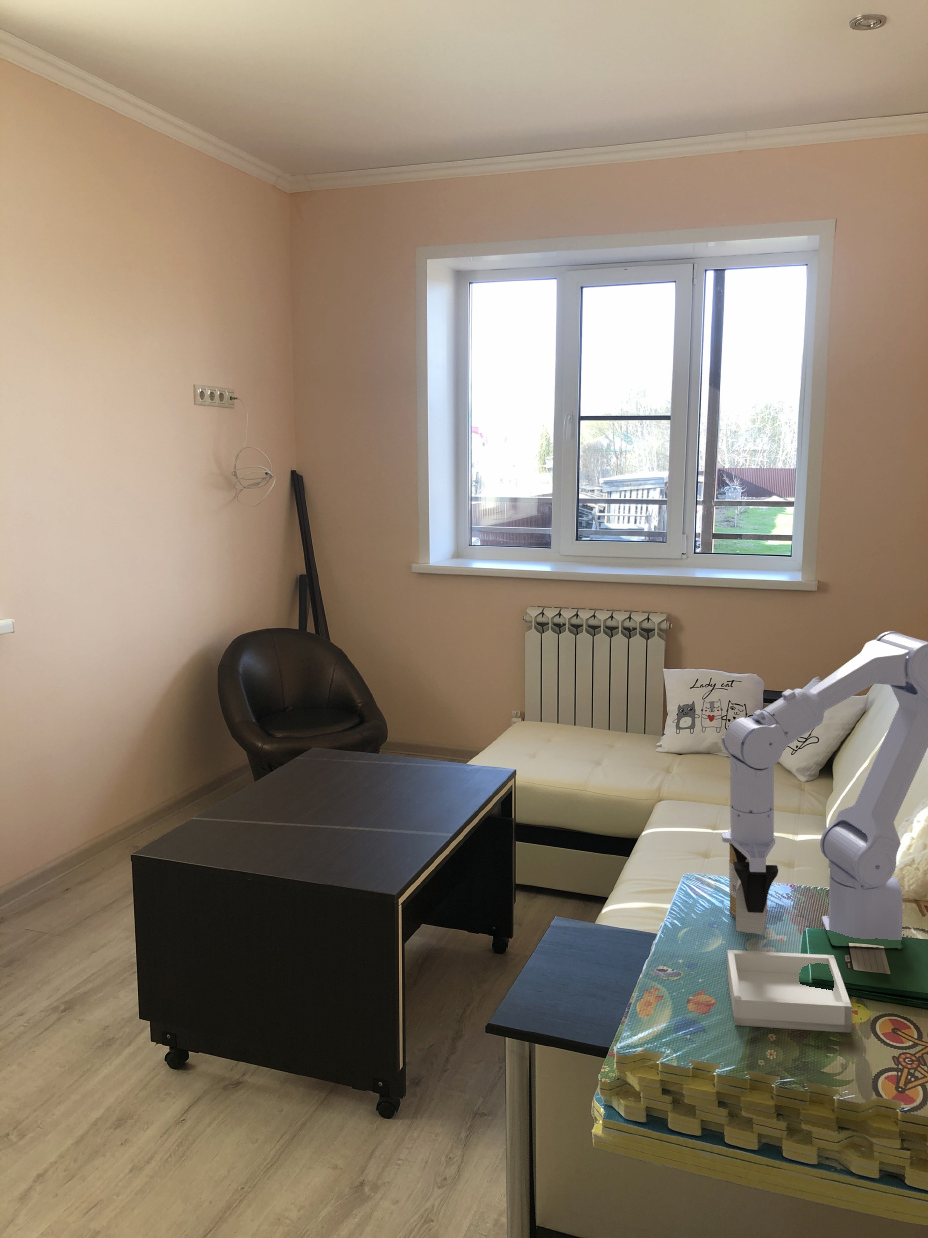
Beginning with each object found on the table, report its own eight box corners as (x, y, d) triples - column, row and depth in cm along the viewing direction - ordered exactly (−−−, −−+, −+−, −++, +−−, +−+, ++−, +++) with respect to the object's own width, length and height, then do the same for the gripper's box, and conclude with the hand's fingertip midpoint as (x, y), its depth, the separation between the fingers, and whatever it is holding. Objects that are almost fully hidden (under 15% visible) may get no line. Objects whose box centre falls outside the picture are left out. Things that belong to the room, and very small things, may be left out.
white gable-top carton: (736, 931, 130) (735, 862, 128) (740, 908, 136) (740, 843, 134) (764, 934, 129) (764, 865, 127) (767, 911, 135) (767, 845, 133)
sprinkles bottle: (766, 914, 143) (766, 830, 141) (745, 923, 141) (745, 839, 138) (742, 903, 147) (742, 821, 144) (722, 912, 144) (721, 829, 142)
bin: (833, 979, 125) (833, 955, 125) (851, 1032, 114) (851, 1006, 114) (727, 973, 128) (727, 950, 127) (734, 1025, 117) (734, 999, 116)
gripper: (718, 786, 137) (718, 873, 140) (725, 826, 123) (726, 922, 126) (768, 786, 136) (768, 874, 138) (782, 827, 122) (782, 924, 124)
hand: (752, 897), depth 132 cm, fingers closed on white gable-top carton, 7 cm apart
